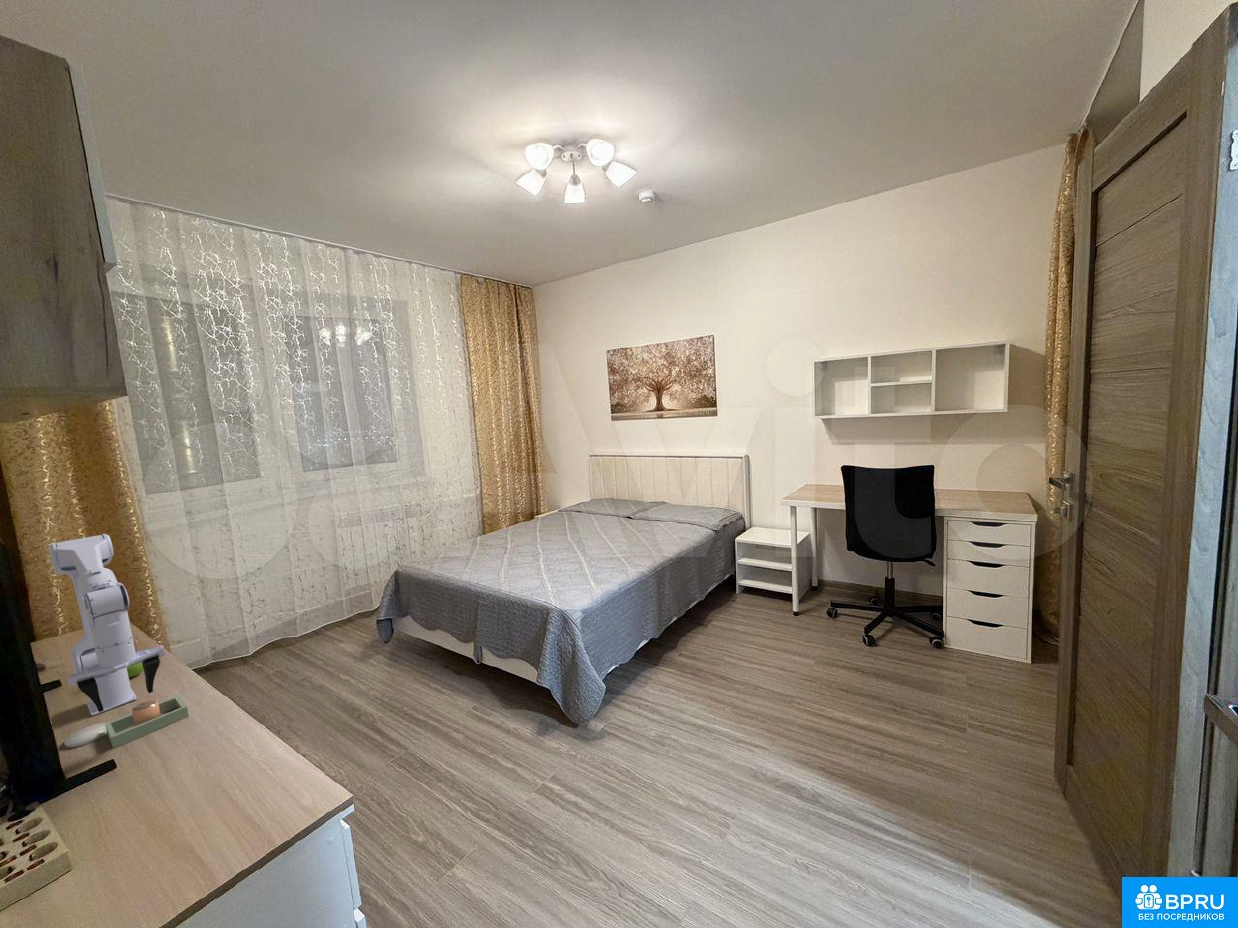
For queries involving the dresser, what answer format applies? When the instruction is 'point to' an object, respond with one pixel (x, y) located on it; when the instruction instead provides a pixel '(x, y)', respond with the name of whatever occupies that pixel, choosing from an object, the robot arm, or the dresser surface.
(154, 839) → the dresser surface
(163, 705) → the box
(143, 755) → the dresser surface
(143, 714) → the terracotta pot
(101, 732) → the pale grey saucer
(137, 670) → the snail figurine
